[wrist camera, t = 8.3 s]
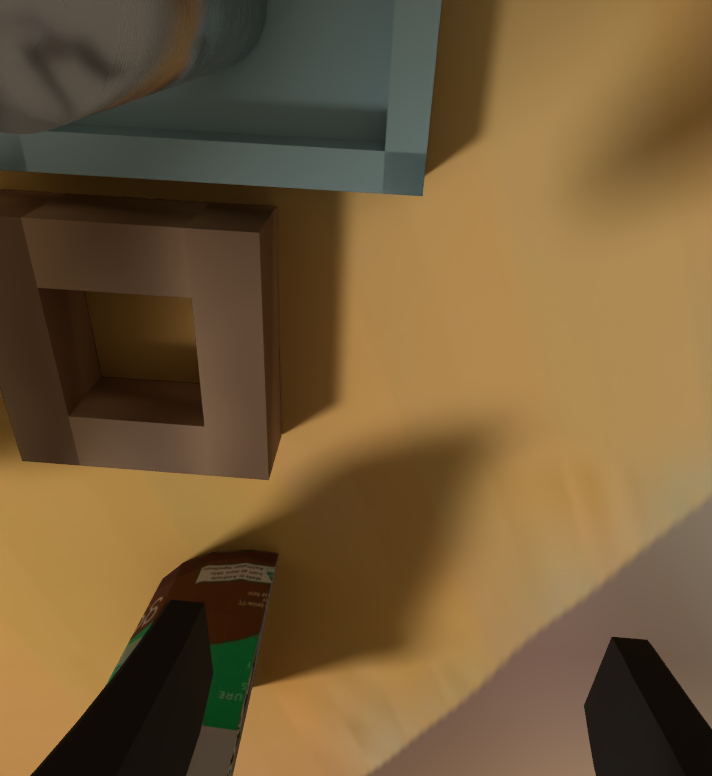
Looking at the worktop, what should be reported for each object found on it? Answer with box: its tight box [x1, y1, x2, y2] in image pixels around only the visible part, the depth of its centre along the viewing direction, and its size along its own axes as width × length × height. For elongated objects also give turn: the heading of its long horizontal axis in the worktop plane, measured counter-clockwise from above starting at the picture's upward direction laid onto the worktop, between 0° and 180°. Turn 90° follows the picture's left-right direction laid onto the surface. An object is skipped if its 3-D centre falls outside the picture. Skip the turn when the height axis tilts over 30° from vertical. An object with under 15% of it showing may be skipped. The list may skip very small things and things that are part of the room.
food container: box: [106, 550, 279, 776], centre depth 23 cm, size 12×6×10 cm, turn 168°
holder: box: [0, 190, 281, 480], centre depth 19 cm, size 8×8×2 cm
